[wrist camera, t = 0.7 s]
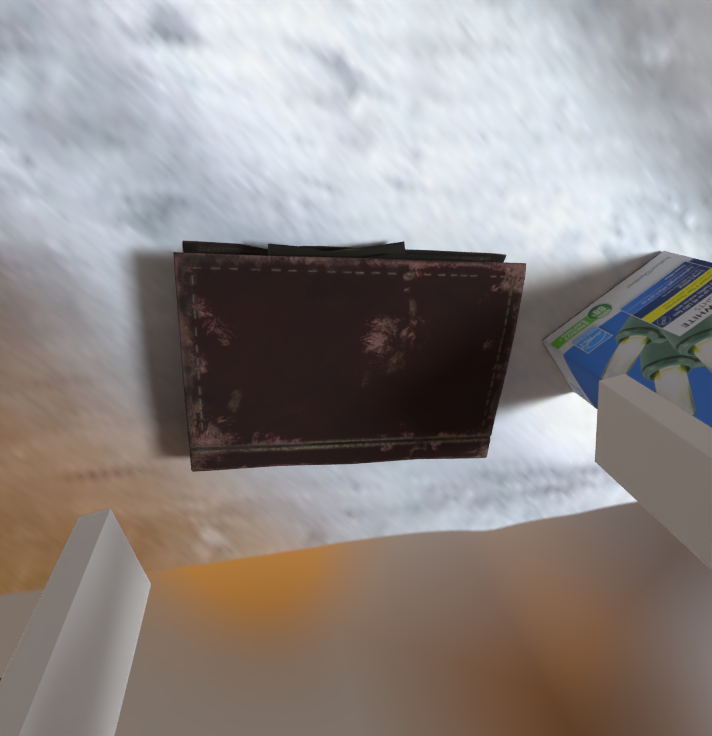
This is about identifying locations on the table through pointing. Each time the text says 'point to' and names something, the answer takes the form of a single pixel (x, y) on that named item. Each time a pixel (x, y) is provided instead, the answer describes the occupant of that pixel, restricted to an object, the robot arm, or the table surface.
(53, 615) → the robot arm
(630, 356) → the string lights box
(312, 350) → the diary
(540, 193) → the table surface
